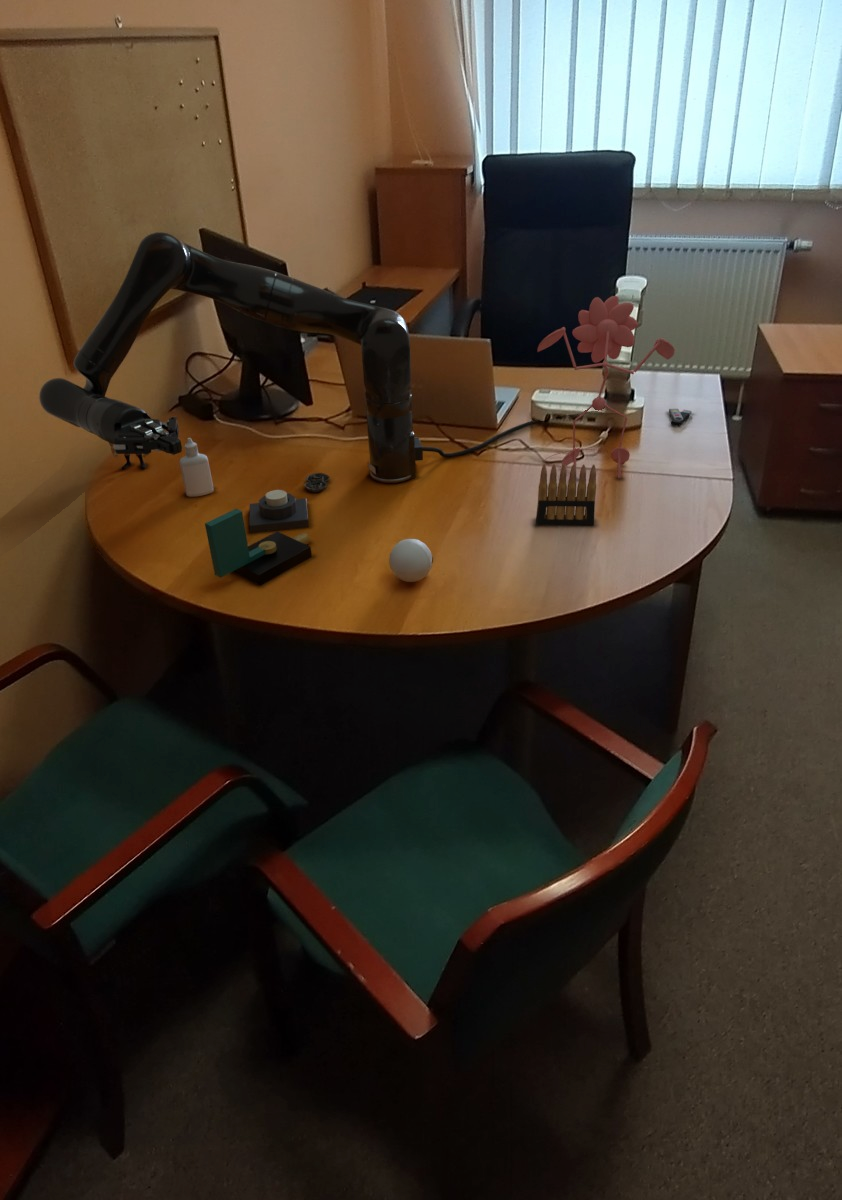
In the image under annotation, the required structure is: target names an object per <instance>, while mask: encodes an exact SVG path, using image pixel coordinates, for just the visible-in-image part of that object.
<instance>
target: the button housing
mask: <svg viewBox="0 0 842 1200" xmlns="http://www.w3.org/2000/svg"><path fill="white" fill-rule="evenodd" d="M286 493H287V492H286ZM287 500H288V502H287V503H286V504H284V505H282V506H274V507H273V506H268V505H267V503H266V495H264V496H262V497H260V498H259V500H258V502H255V503H253V502H252V503H249V522H248V523H249V532H250V534H256V533H265V532H266V533H267V532H277V531H285V530H294V529H295V530H296V529H305V528H309V527H310V523H309V522H310V521H309V512H308V501H307V498H305V497H304V498H296V497H295V495H293V494H291V493H287Z"/></svg>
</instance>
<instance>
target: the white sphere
mask: <svg viewBox="0 0 842 1200" xmlns="http://www.w3.org/2000/svg"><path fill="white" fill-rule="evenodd" d="M388 557H389V558H388V563H389V568H390V570H391V572H392V573H393V575H394V576H395V577H396V578H397V579H400V580H401V581H403V582H406V583H415V582H419V581H421V580H423V579H424V578H426V576H428V574H429V572H430V571H431V569H432V567H433V563H434V557H433V556H432V552H431V550H430V548H429V546H428V545H427V544H426V543H424V542H422V541H421V540H419V539H417V538H404V539H401V540H400V541H399V542H397V543H396V544H395V545H394V546H393V547H392V549H391V551H390V552H389V556H388Z"/></svg>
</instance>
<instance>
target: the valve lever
mask: <svg viewBox="0 0 842 1200" xmlns="http://www.w3.org/2000/svg"><path fill="white" fill-rule="evenodd" d="M204 526H205V532H206V538H207V542H208V547H209V552H210V555H211V556H210V557H211V563H212V567H213V574H214V576H217V578H220V579H221V578H223V577H225V576H227V575H229V574H231V573H233V571H235V570H236V569H238V568H240V567H242V566H244V565H246V564H248V563H250V562H252V561H254V560H255V559H257V558H259V557H261V556H263V555H265V554H272V553H274V552H275V551H276V544H275V542H272V541H265V542H262V543H260V544H259V547H258V548H256V549H254V550H252V551H250V552H249V549H248V546H249V545H248V544H249V543H248V537H247V531H246V527H245V519H244V515H243V511H242V510H241V509H238V508H234V509H232V510H230V511H228V512H226V513H224V514H222V515H219V516H217V517H215V518H213V519H211V520H208V521H206V522H204Z"/></svg>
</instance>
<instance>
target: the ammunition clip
mask: <svg viewBox="0 0 842 1200" xmlns="http://www.w3.org/2000/svg"><path fill="white" fill-rule="evenodd" d="M566 467H567V466H566ZM566 467H565V465H564V464H563V466H562V465H561V469H560V472H559V479H557V477H558V473H557V466H556V464H554V463H553V464H552V466H551V469H550V474H549V482H548V470H547V465H546V464H545V463H544V464H542V467H541V469H540V475H539V476H540V478H539V483H538V490H537V491H538V493H537V506H536V514H535V515H536V516H535V524H536V525H537V526H567V527H568V526H573V527H576V526H578V527H579V526H580V527H582V526H583V527H584V526H585V527H587V526H588V527H589V526H591V527H594V526H595V512H596V511H595V510H596V507H595V505H596V495H597V469H596V465H595V464H592V465H591V468H590V470H589V478H588V482H587V469H586V465H585V464H582V466H581V468H580V471H579V477H578V483H577V467H576V468H575V465H574V463H572V465H571V467H570V471H569V478H568V483H567V468H566ZM557 481H558V483H557Z"/></svg>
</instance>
